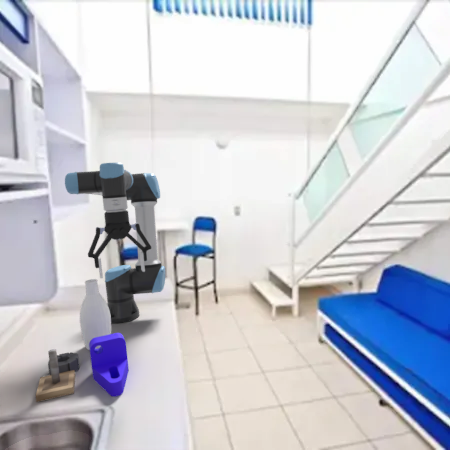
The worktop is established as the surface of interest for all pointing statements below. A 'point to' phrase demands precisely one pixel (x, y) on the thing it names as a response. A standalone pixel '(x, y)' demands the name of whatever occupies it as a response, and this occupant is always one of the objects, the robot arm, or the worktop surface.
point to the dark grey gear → (66, 362)
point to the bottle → (94, 314)
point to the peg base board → (55, 381)
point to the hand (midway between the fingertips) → (122, 274)
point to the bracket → (109, 362)
